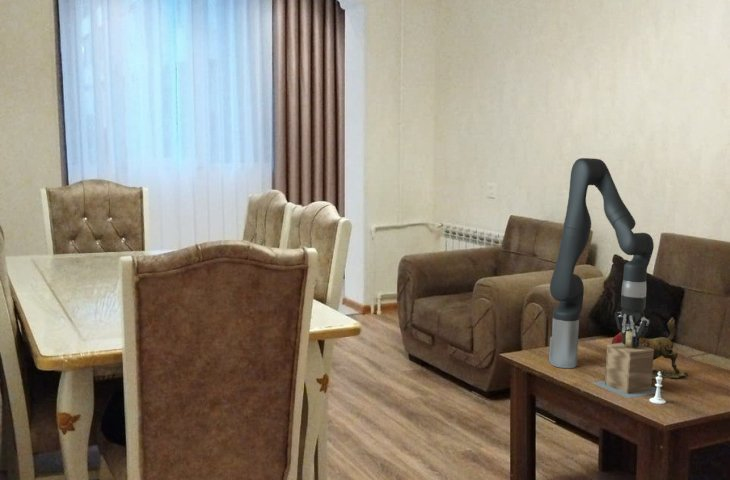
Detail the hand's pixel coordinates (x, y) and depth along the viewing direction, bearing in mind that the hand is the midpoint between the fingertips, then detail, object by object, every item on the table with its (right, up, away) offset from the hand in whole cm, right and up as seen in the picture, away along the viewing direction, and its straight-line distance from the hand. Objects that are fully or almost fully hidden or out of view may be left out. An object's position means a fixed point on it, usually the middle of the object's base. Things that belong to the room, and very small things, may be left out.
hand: (630, 345), depth 243 cm
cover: (0, -14, +2) cm, 14 cm away
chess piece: (+4, -16, -11) cm, 20 cm away
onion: (+11, -9, +44) cm, 46 cm away
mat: (0, -14, +2) cm, 14 cm away
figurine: (+13, -13, +15) cm, 24 cm away
